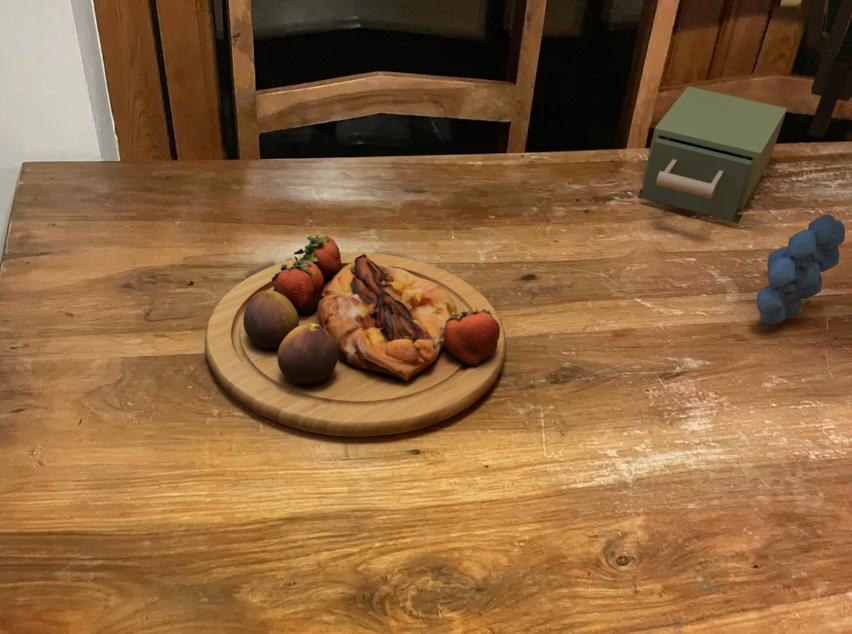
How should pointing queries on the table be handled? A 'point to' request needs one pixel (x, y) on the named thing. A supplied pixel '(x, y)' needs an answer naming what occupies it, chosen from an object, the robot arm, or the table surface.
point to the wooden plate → (355, 342)
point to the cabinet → (724, 130)
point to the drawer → (696, 177)
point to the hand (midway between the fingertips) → (817, 131)
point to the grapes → (799, 269)
